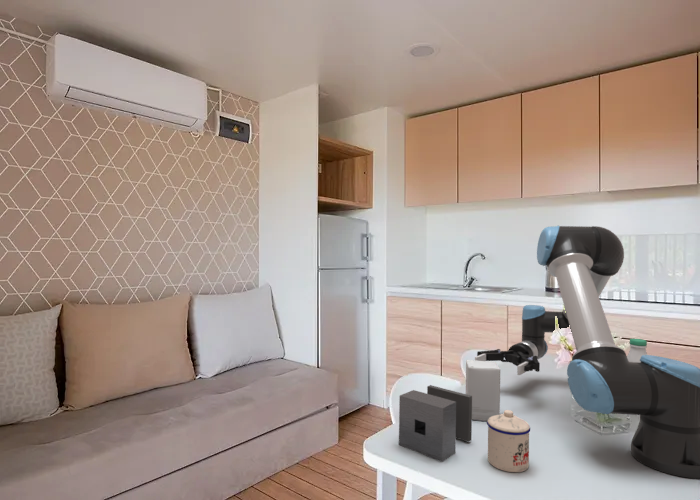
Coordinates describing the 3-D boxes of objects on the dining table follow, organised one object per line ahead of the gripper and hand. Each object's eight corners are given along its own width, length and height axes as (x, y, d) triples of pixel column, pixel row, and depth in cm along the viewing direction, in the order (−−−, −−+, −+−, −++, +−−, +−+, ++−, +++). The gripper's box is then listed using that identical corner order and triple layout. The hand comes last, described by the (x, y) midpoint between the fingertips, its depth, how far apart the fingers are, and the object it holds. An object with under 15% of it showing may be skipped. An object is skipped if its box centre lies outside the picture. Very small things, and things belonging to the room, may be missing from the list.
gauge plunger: (471, 440, 105) (472, 395, 105) (452, 452, 98) (452, 405, 98) (421, 423, 115) (422, 383, 115) (401, 434, 108) (402, 391, 108)
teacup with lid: (520, 478, 89) (521, 422, 89) (479, 463, 95) (480, 411, 95) (540, 458, 97) (541, 407, 97) (501, 446, 104) (502, 398, 104)
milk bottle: (656, 402, 136) (656, 340, 136) (646, 407, 132) (646, 343, 132) (629, 396, 142) (630, 336, 142) (619, 400, 138) (619, 338, 138)
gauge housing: (473, 440, 106) (473, 392, 106) (442, 461, 95) (442, 408, 95) (422, 423, 116) (423, 380, 116) (389, 441, 105) (389, 392, 105)
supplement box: (500, 423, 118) (501, 369, 118) (467, 420, 119) (467, 367, 120) (496, 411, 127) (496, 361, 127) (465, 408, 128) (465, 359, 128)
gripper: (561, 372, 138) (538, 387, 122) (487, 357, 155) (459, 369, 139) (561, 349, 138) (538, 361, 122) (488, 337, 155) (459, 346, 139)
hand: (496, 365), depth 131 cm, fingers open, 13 cm apart
